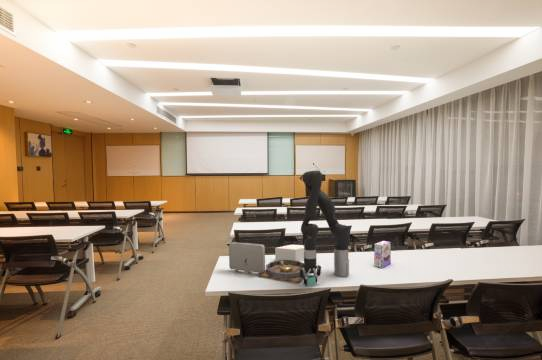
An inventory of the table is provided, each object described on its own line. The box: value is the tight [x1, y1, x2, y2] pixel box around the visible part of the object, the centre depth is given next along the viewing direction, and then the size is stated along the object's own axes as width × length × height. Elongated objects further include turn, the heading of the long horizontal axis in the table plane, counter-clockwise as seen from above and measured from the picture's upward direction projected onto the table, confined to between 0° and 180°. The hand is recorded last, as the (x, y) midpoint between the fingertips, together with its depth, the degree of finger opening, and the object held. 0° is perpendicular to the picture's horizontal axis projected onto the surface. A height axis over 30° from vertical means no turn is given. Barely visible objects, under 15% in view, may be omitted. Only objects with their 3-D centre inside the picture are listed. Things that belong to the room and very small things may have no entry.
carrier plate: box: [258, 261, 304, 285], centre depth 184 cm, size 28×28×6 cm
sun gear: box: [280, 265, 293, 273], centre depth 184 cm, size 9×9×2 cm
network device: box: [228, 241, 266, 277], centre depth 186 cm, size 26×9×20 cm, turn 68°
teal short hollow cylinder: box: [305, 274, 317, 288], centre depth 164 cm, size 6×6×5 cm
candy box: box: [373, 240, 392, 269], centre depth 195 cm, size 14×6×16 cm, turn 131°
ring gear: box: [265, 260, 305, 279], centre depth 184 cm, size 27×27×3 cm
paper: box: [274, 244, 304, 262], centre depth 212 cm, size 14×29×10 cm, turn 96°
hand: (310, 283), depth 164 cm, fingers closed on teal short hollow cylinder, 6 cm apart
